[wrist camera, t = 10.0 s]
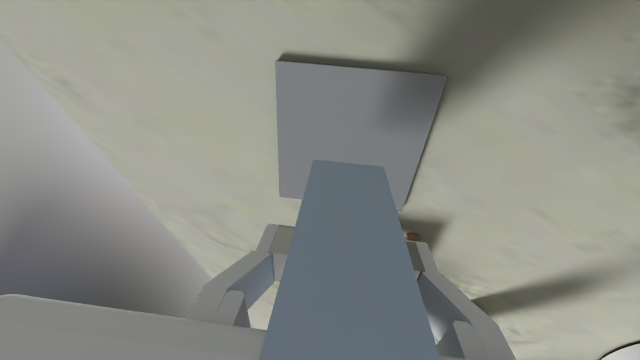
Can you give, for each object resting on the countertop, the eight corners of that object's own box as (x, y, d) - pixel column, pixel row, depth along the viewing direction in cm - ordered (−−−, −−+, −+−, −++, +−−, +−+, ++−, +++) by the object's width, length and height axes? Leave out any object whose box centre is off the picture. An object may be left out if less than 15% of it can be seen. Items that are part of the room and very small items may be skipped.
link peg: (383, 166, 13) (456, 414, 4) (370, 220, 15) (402, 456, 6) (313, 159, 13) (252, 384, 5) (310, 213, 15) (265, 433, 7)
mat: (444, 75, 16) (448, 76, 16) (400, 207, 22) (401, 211, 22) (277, 60, 17) (275, 60, 16) (281, 193, 23) (279, 196, 23)
